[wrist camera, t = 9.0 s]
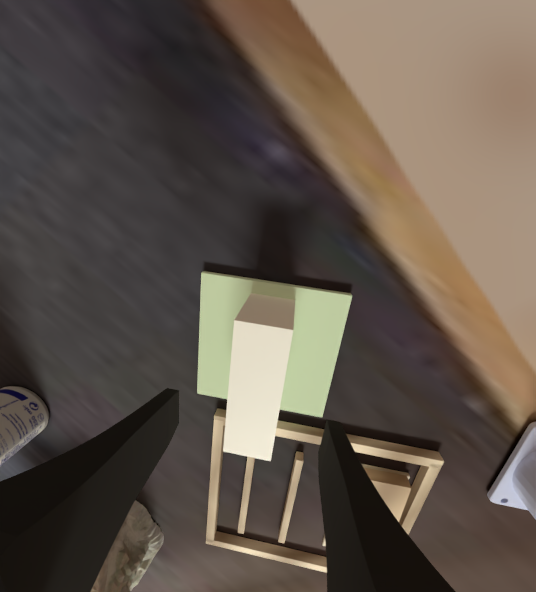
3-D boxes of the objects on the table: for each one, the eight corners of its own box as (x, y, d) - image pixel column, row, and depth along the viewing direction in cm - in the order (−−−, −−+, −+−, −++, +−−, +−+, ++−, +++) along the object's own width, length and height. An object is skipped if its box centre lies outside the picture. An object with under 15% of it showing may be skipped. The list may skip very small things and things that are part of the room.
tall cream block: (295, 299, 17) (293, 330, 12) (277, 407, 20) (270, 461, 15) (251, 293, 17) (234, 320, 13) (239, 400, 20) (223, 451, 16)
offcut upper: (406, 475, 20) (411, 488, 19) (379, 551, 24) (382, 565, 23) (348, 464, 21) (350, 476, 20) (329, 540, 24) (330, 553, 23)
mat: (350, 293, 17) (352, 295, 16) (321, 412, 20) (322, 417, 19) (204, 271, 17) (201, 272, 17) (199, 389, 21) (197, 393, 20)
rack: (438, 451, 20) (443, 461, 19) (380, 575, 25) (383, 586, 24) (217, 408, 21) (214, 415, 20) (208, 533, 27) (205, 543, 26)
